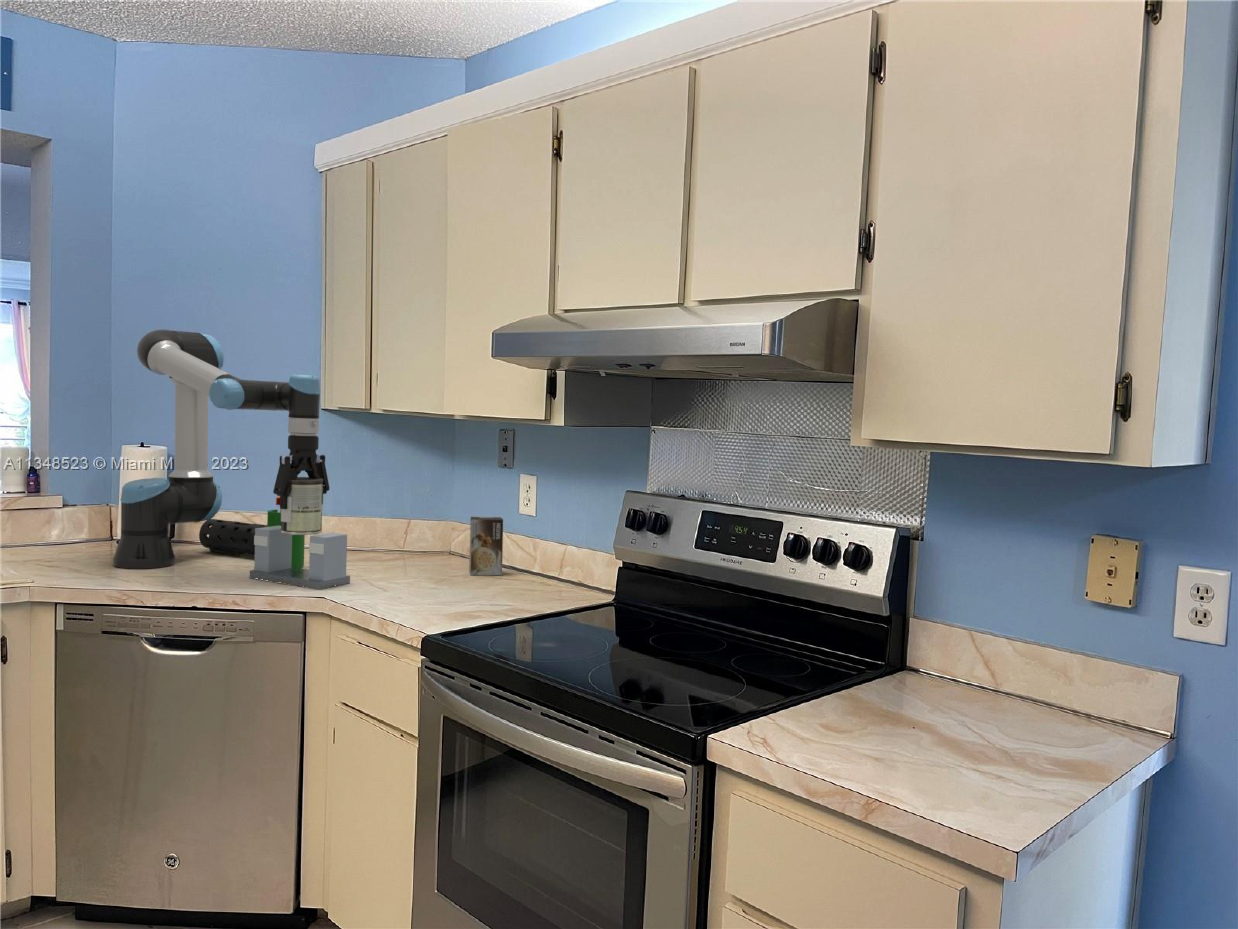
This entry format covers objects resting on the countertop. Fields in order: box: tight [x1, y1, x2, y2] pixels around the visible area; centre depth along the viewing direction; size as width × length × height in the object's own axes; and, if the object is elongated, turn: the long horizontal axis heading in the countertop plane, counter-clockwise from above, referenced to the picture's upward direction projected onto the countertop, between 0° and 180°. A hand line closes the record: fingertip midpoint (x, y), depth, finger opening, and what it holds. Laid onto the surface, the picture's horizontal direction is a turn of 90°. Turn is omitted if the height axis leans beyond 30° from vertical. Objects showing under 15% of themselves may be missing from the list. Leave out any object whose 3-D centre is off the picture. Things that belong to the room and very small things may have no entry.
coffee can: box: [281, 476, 324, 536], centre depth 243 cm, size 10×10×14 cm
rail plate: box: [249, 567, 351, 590], centre depth 244 cm, size 24×11×2 cm, turn 64°
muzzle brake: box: [198, 518, 267, 556], centre depth 277 cm, size 10×28×10 cm, turn 68°
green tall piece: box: [266, 496, 306, 568], centre depth 263 cm, size 10×9×20 cm
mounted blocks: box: [253, 526, 348, 581], centre depth 244 cm, size 24×8×11 cm, turn 64°
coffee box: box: [468, 516, 504, 576], centre depth 267 cm, size 9×6×16 cm
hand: (301, 520), depth 243 cm, fingers closed on coffee can, 10 cm apart
